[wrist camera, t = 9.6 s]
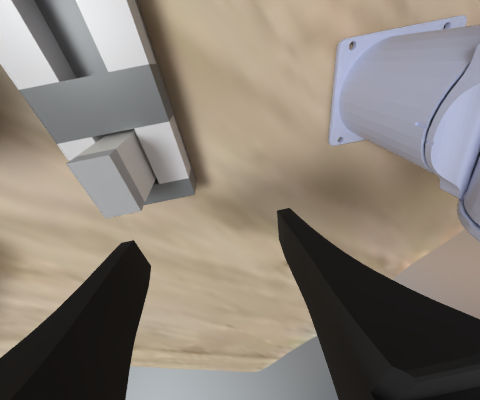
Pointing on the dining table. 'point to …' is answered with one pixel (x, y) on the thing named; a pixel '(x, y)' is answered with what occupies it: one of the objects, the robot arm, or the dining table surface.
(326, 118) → the dining table surface
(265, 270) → the dining table surface
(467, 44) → the robot arm
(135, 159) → the block
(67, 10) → the fuse holder
